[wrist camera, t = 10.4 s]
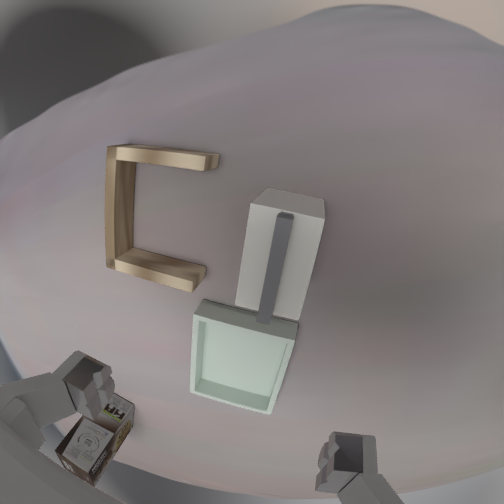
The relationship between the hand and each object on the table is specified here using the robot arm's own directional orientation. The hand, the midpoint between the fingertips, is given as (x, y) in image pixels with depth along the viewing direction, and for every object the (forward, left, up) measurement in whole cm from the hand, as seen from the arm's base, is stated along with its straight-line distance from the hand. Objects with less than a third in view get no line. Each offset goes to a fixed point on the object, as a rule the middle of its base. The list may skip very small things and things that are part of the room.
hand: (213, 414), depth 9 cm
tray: (+2, +15, -20) cm, 25 cm away
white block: (0, 0, -20) cm, 20 cm away
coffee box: (+22, +38, -20) cm, 48 cm away
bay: (+12, 0, -20) cm, 23 cm away
